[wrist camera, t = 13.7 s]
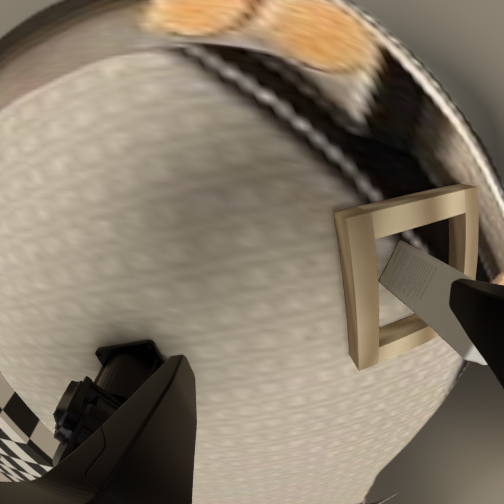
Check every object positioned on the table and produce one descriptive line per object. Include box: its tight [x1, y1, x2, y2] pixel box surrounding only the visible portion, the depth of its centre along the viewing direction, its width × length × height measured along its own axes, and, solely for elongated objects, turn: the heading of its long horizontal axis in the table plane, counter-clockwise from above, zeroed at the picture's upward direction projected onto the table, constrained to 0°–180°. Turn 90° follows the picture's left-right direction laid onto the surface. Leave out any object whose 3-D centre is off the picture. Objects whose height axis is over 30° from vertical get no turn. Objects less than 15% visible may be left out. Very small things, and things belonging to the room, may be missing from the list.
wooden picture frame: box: [333, 184, 478, 371], centre depth 21 cm, size 14×14×2 cm
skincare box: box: [379, 241, 488, 365], centre depth 17 cm, size 6×4×12 cm
